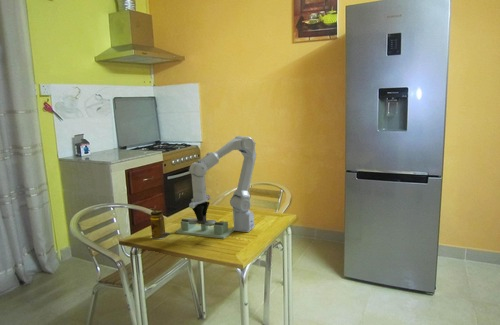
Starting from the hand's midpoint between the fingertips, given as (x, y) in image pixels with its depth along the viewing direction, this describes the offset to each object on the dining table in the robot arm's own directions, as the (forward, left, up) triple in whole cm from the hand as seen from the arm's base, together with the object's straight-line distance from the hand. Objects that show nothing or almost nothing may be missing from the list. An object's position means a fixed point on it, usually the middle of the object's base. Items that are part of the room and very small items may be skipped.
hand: (201, 219), depth 147 cm
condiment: (+21, +3, -9) cm, 23 cm away
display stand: (+3, -7, -9) cm, 12 cm away
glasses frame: (0, 0, -2) cm, 2 cm away
